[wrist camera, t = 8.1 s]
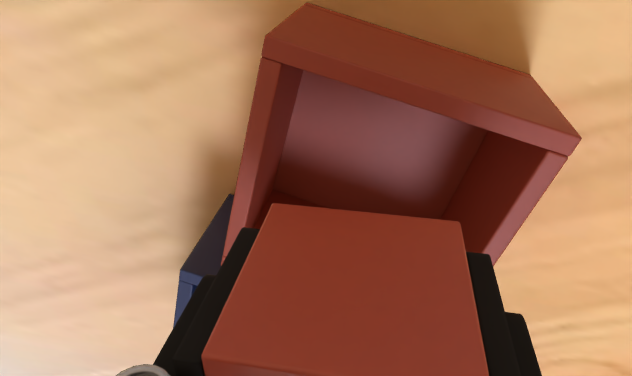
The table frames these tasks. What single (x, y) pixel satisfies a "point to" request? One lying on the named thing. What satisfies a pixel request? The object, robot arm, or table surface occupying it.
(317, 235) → the red block
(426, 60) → the red bin
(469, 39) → the table surface
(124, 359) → the table surface
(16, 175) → the table surface
